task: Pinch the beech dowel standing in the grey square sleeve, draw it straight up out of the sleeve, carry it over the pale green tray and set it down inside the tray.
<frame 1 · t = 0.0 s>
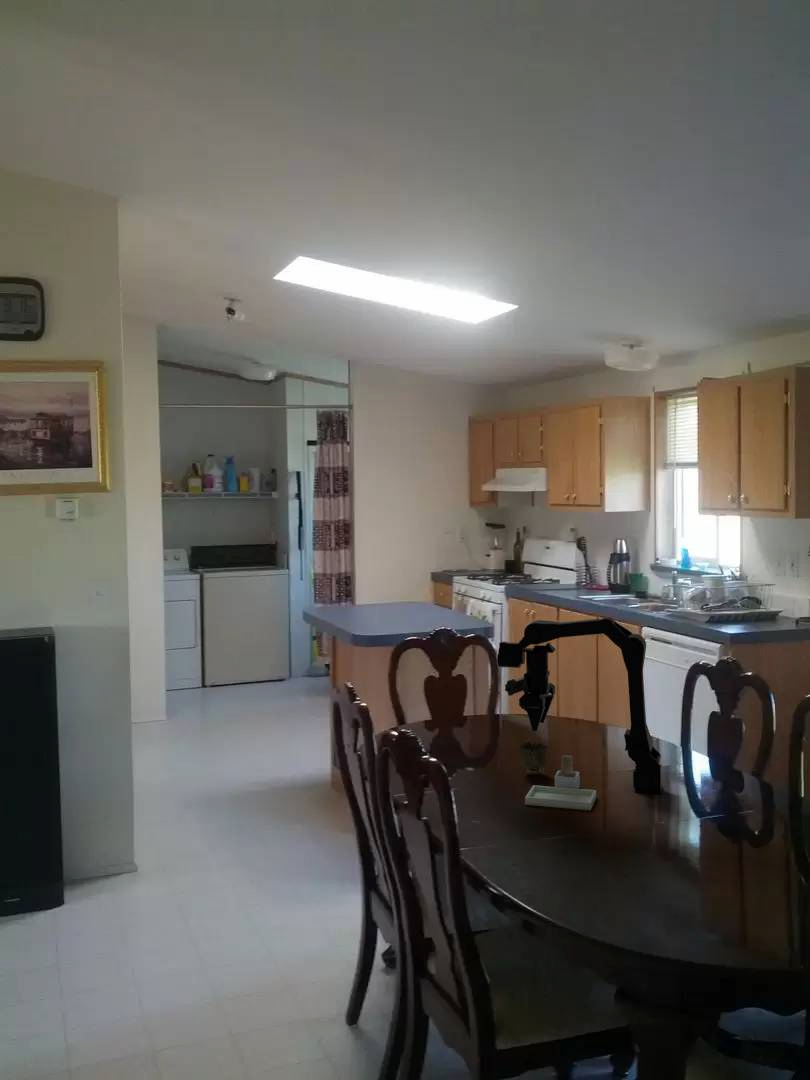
hand: (538, 726, 248), 15 cm above the table, fingers open, 9 cm apart
dowel: (567, 772, 241), in the grey square sleeve
cup 2: (533, 774, 255), on the table
grey square sleeve: (567, 789, 241), on the table
tray: (561, 800, 232), on the table
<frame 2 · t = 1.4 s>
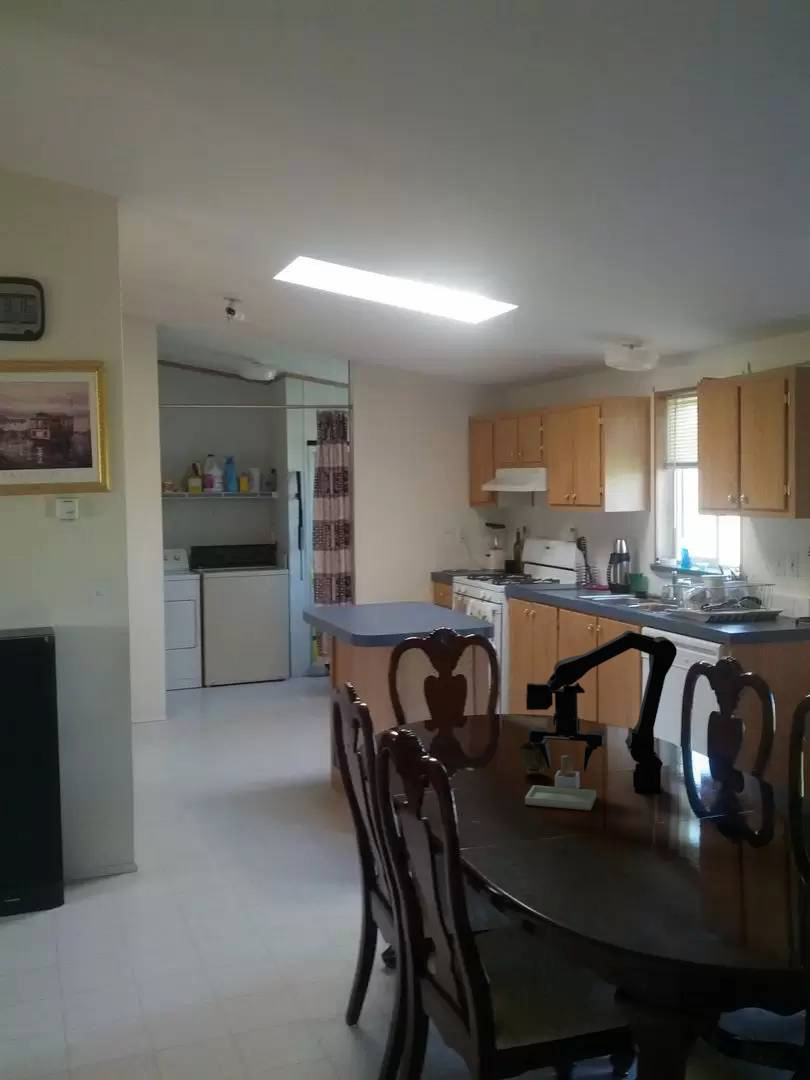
hand: (567, 769, 241), 5 cm above the table, fingers open, 9 cm apart
nothing on the table moved.
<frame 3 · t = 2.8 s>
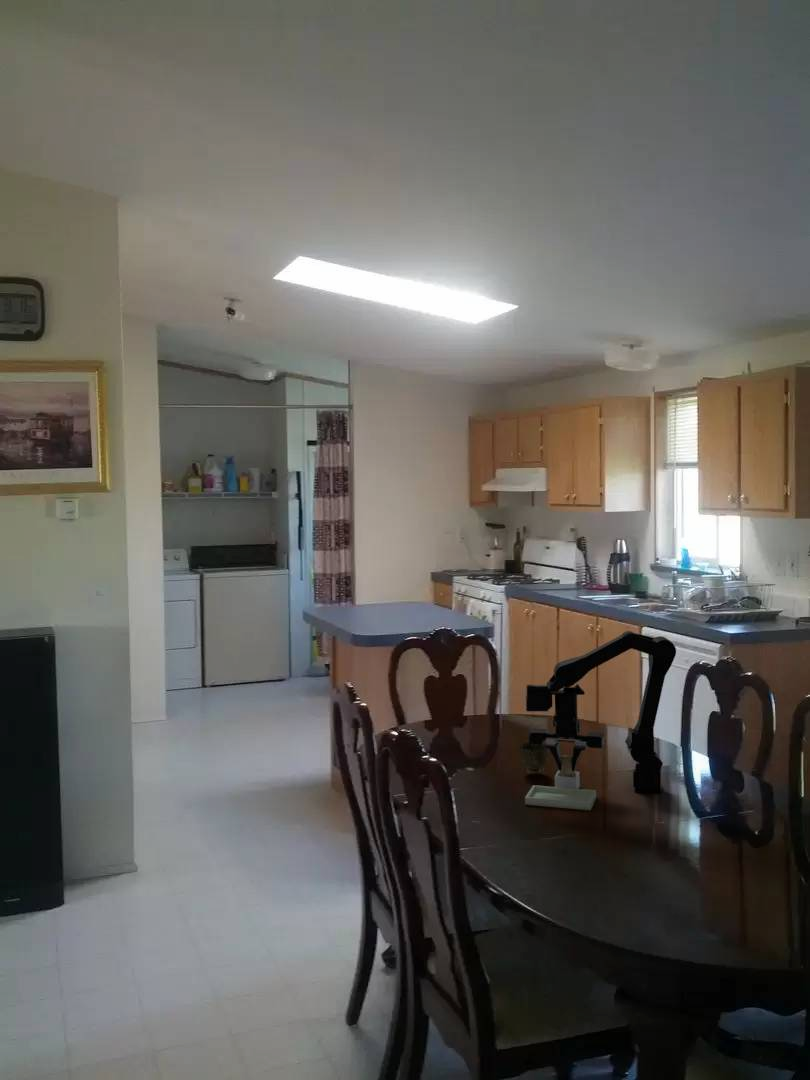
hand: (567, 771, 241), 5 cm above the table, fingers closed on dowel, 3 cm apart
dowel: (567, 772, 241), in the grey square sleeve, touching gripper
everything else where it was.
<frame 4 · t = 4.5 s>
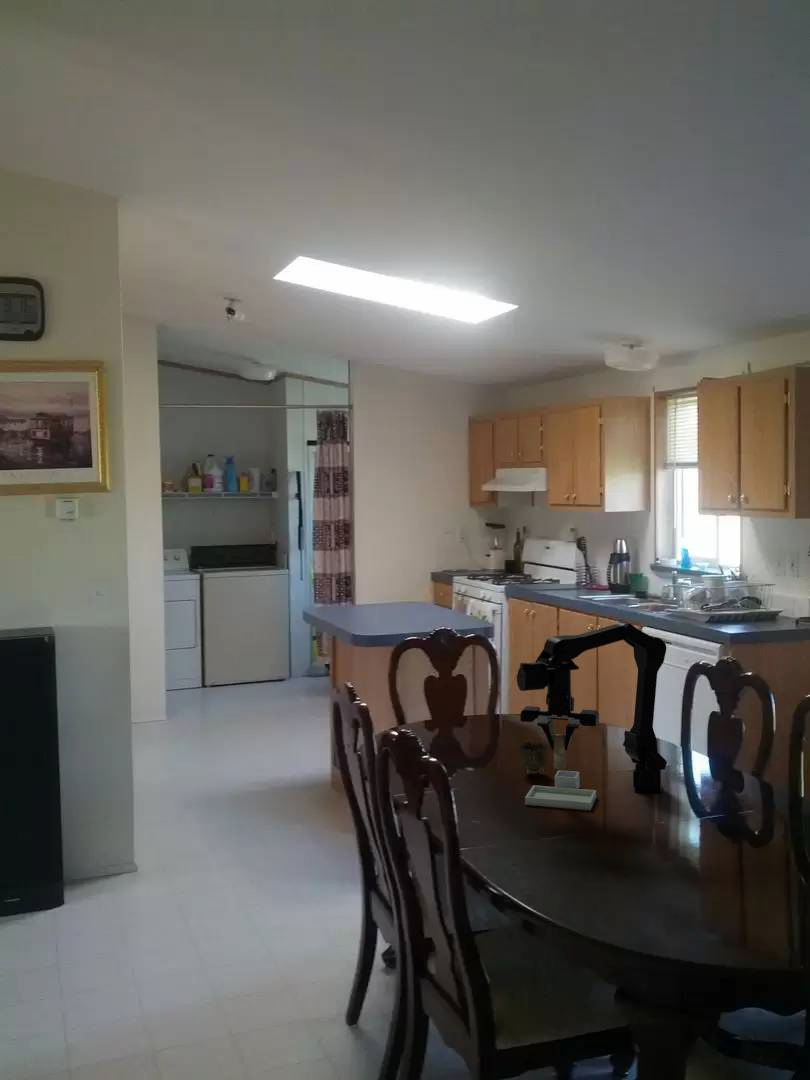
hand: (559, 750, 232), 13 cm above the table, fingers closed on dowel, 3 cm apart
dowel: (559, 751, 232), point 12 cm above the table, touching gripper
everything else where it was.
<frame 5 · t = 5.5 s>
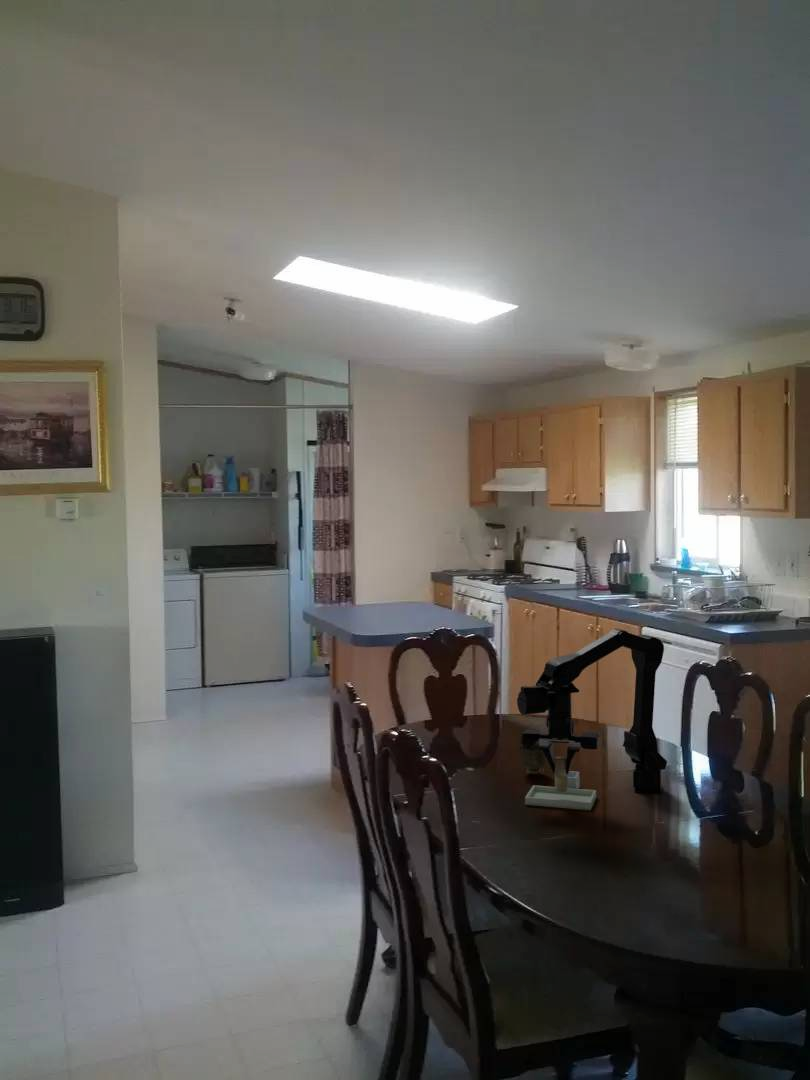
hand: (560, 773, 232), 7 cm above the table, fingers closed on dowel, 3 cm apart
dowel: (560, 774, 232), point 7 cm above the table, touching gripper
everything else where it was.
when the fingers open (6 cm above the table, at t = 6.4 s): dowel stays where it is, resting on tray.
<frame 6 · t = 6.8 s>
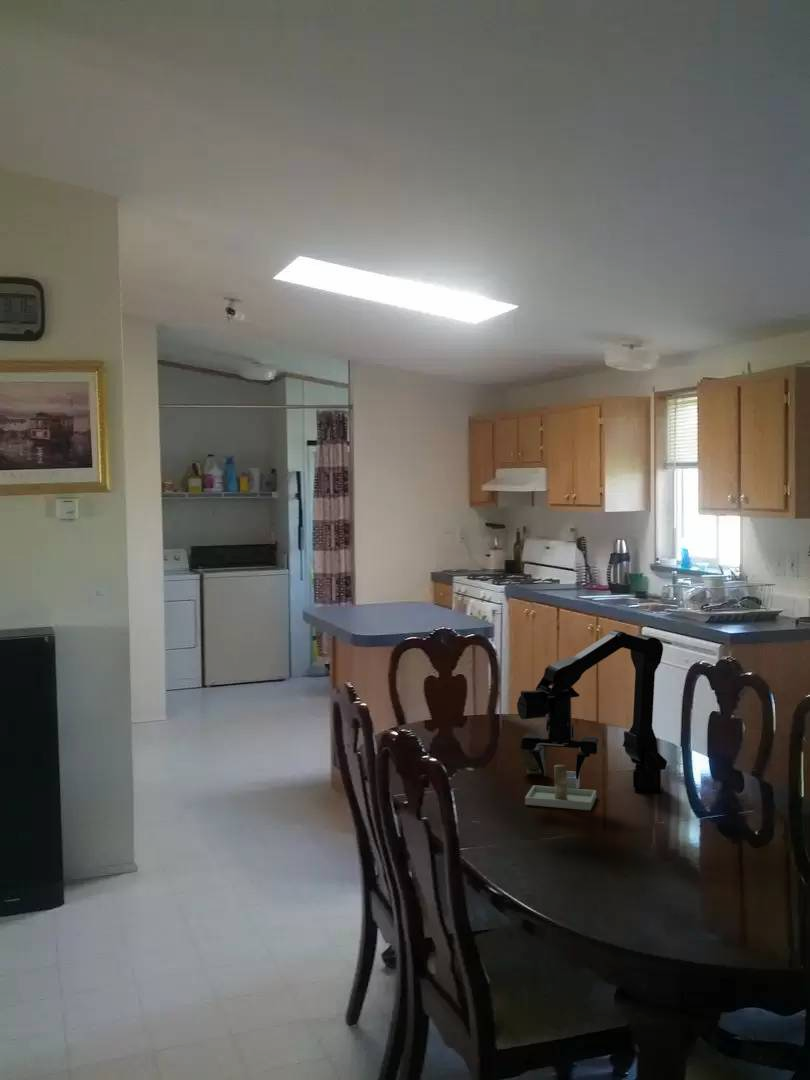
hand: (560, 777, 232), 6 cm above the table, fingers open, 8 cm apart
dowel: (560, 782, 232), in the tray, point 5 cm above the table
everything else where it was.
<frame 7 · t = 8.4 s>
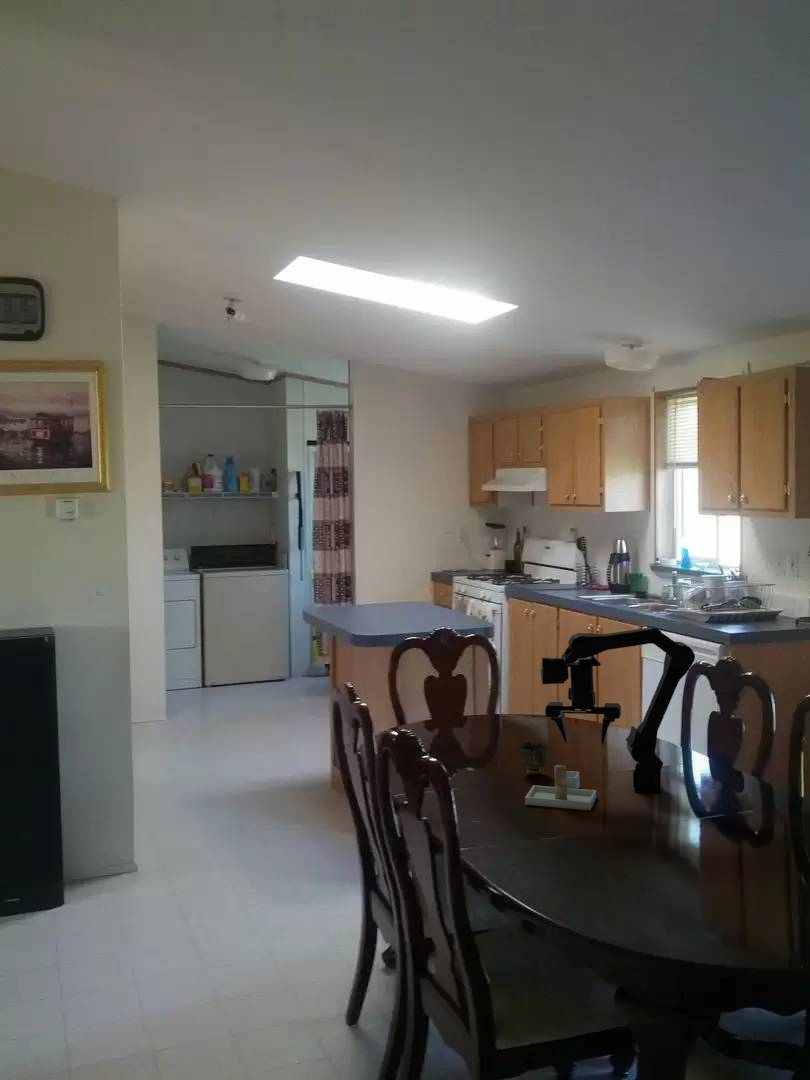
hand: (584, 743, 239), 12 cm above the table, fingers open, 9 cm apart
nothing on the table moved.
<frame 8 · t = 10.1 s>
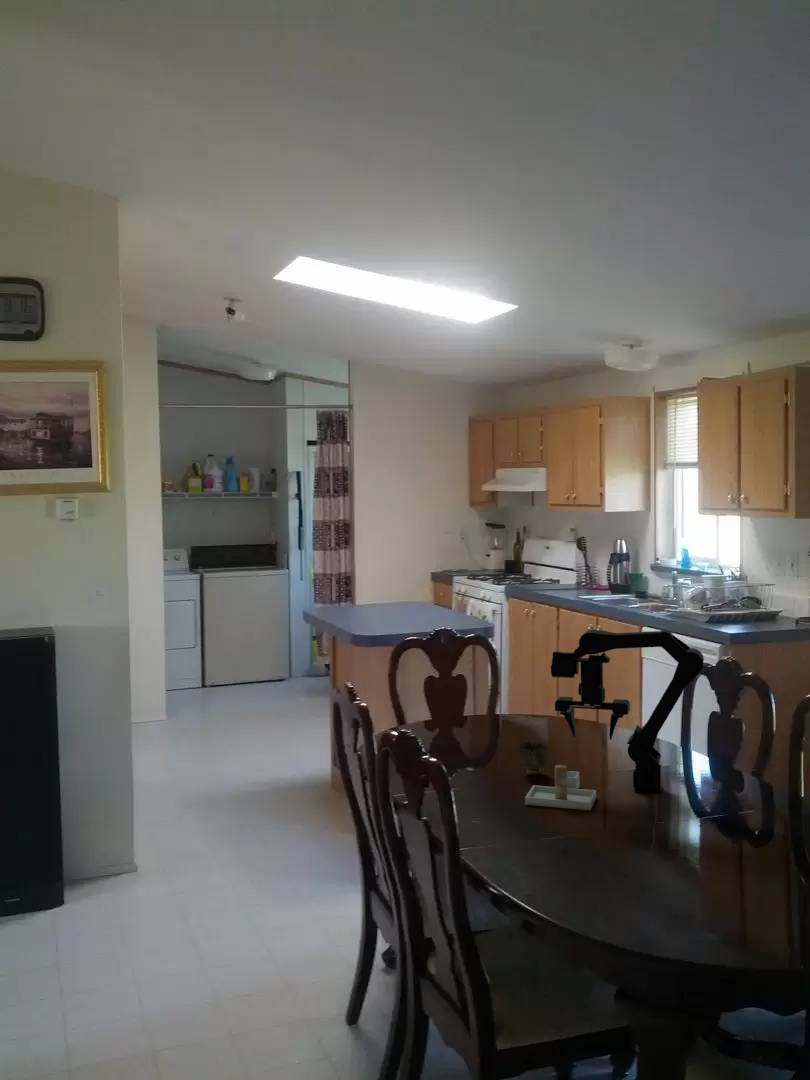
hand: (592, 738, 243), 13 cm above the table, fingers open, 9 cm apart
nothing on the table moved.
at the end: dowel inside the target area on the tray (0.0 cm from its centre), point 4.6 cm above the tray's base; the gripper is holding nothing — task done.
